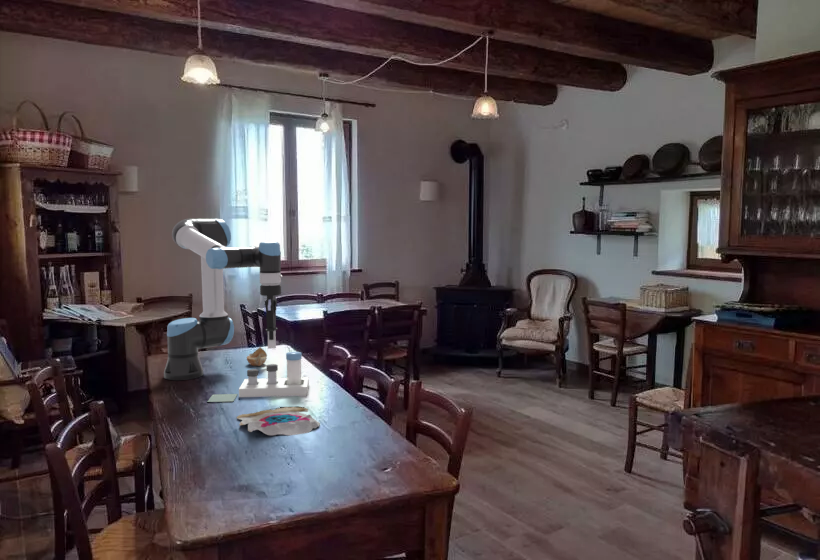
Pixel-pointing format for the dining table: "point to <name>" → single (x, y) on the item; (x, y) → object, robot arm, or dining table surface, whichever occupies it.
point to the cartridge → (294, 368)
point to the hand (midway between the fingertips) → (271, 348)
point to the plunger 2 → (272, 373)
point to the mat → (223, 398)
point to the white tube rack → (273, 388)
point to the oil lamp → (257, 357)
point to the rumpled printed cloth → (280, 421)
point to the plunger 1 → (252, 376)
